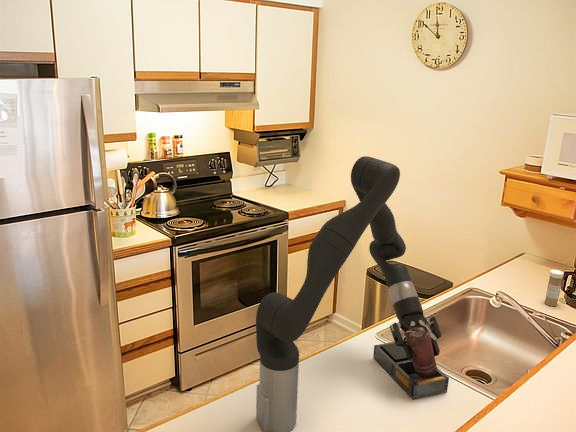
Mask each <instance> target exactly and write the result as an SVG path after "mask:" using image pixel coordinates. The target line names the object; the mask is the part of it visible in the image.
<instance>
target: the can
mask: <svg viewBox="0 0 576 432" xmlns="http://www.w3.org/2000/svg"><path fill="white" fill-rule="evenodd" d="M405 336H406V339H407V340H408V343H409V346H410V347H411V348H412V350H413V352H414V355H415V360H413V361H412V362H413V366H414V370H415V373H416V374H417V375H418V376H420V377H422V378H429V377H432V376H433V375H434V374H435V373H436V371H437V368H438V367H437V361H436V358H435V357H436V356H434V352H433V347H432V342H431V338H430V333H429V330H428V329H427V328H426V327H425V326H423V325H414V326H411V327H410V328H409V329H408V330H407V332H406V333H405Z"/></svg>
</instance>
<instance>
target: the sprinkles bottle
mask: <svg viewBox="0 0 576 432" xmlns="http://www.w3.org/2000/svg"><path fill="white" fill-rule="evenodd" d="M548 278H549V280H548V285H547V288H546V292H545V299H544V304H545V305H547V306H549V307H557V306H558V302H559V298H560V297H559V296H560V292H561V287H562V283H563V282H562V281H563V278H564V272H563V271H562V270H559V269H550V271H549V277H548Z"/></svg>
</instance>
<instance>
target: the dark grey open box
mask: <svg viewBox="0 0 576 432" xmlns="http://www.w3.org/2000/svg"><path fill="white" fill-rule="evenodd" d="M372 359H373V360H374V361H375V362H376V363H377V364H378V365H379V366H380V368H382V370H383V371H384V372H385V373H386V374H387V375H388V377H390V378H391V379H392V380H393V381H394V382H395V383H396V384H397V386H399V388H401V389H402V391H404V393H405V394H406V395H407V396H408V397H409V398H410V399H411V400H412V401H414V400H420V399H423V398H429V397H432V396H436V395H440V394H441V395H442V394H445V393H448V387H449V381H450V377H449V376H448V375H447V374H446V373H444V372H443V371H442V370H441V369H439V368H438V367H437V371H436V373H435V374H434V375H433V376H432V377H429V378H422V377H420V376H418V375H417V374H416V373H415V370H414V366H413V362H412V361H410V360H409V359H408V358H407V356H406V353H405V350H404V348H403V347H402V346H396V344H395V341H391V342H385V343H380V344H374V345H373V357H372Z"/></svg>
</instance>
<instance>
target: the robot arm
mask: <svg viewBox="0 0 576 432" xmlns="http://www.w3.org/2000/svg"><path fill="white" fill-rule="evenodd" d="M400 177H401V170H400V168H399V167H398V166H397V165H396V164H393V163H391V162H388V161H385V160H382V159H378V158H376V157H371V156H368V155H366V156H361V157H359V158H358V159H357V160H356V161H355V162H354V163H353V166H352V169H351V171H350V183H351V186H352V189H353V190H354V192H355V194H356V196H357V197H358V198H357V199H358V201H359V202H358V203H357V204H355V205H353V206H352V207H350V208H349V209H347V210H345V211H343V212H341V213H339V214H336V215H335V216H333V217H331V218H330V219H329V220H327V221H326V222H325V223H324V224H323V225H322V226H321V228H320V229H319V230H318V232H317V234H316V235H315V236H314V238H313V239H312V241H311V243H310V245H309V248H308V252H307V260H306V262H307V263H306V275H305V279H304V281H303V283H302V286H301V288H300V289H299V291H298V292H297V293H296V296H295V297H294V298H293V299H292V298H291V297H289V296H286V295H284V294H283V293H280V292H269V293H268V294H267V295H265V296H264V297H263V298H262V299H261V301H260V302H259V305H258V306H257V310H256V315H255V330H256V332H255V337H256V348H257V352H258V354H259V382H258V383H259V384H257V385H256V402H255V403H256V405H255V406H256V408H255V410H256V412H255V413H256V414H255V418H256V421H257V422H258V425H259V427H260V429H261V431H262V432H291V431H293V430H294V429H295V427H296V424H297V415H298V388H299V368H300V367H299V366H300V364H299V363H300V350H299V348H298V346H297V344H295V342H296V341H297V340H299V338H300V337H301V336H302V335H303V334H304V332H306V330H307V328H308V326H309V325H310V323H311V321H312V319H313V316H314V315H315V313H316V311H317V309H318V307H319V305H320V304H321V302H322V299H323V297H324V296H325V293H327V290H328V289H329V287H330V285H331V284H332V282H333V281H334V279H335V277H336V276H337V274H338V272H339V271H340V269H341V268H342V267H343V265H344V264H345V263H346V261H347V259H348V258H349V257H350V255H351V253H352V252H353V250H354V248H355V247H356V245H357V244H358V242H359V240H360V239H361V237H362V236H363V233H365V231H366V229H367V228H368V226H369V227H370V231H371V236H372V238H373V240H372V241H371V242H370V243H369V246H368V251H369V254H370V256H371V258H372V259H373V260H374V262H375V263H376V265H377V266H378V267H379V269H380V271H381V273H382V275H383V277H384V280H385V284H386V286H387V288H388V293H389V296H390V297H389V298H390V302H391V304H392V307H393V311H394V313H395V316H396V318H397V320H398V322H394V323H391V324H390V325H389V329H390V332H391V334H392V337H393V338H392V339H393V342H395V344H396V346H402V347H403V348H404V350H405V353H406V356H407V358H408V359H409V360H410V361H413V360H415V355H414V352H413V350H412V348H411V347H410V346H409V343H408V340H407V339H406V336H405V333H406V332H407V330H408V329H409V328H410V327H411V326H414V325H423V326H425V327H426V328H427V329H428V330H429V333H430V338H431V342H432V347H433V352H434V356H435V357H437V356H439V355H440V353H441V351H440V346H439V344H438V342H437V340H438V339H439V338H441V337H442V333H441V330H440V327H439V324H438V320H437V318H436V317H435V316H431V317H430V318H429V317H425V315H424V310H423V307H422V304H421V301H420V298H419V295H418V293H417V290H416V287H415V285H414V284H413V281H412V278H411V276H410V272H409V270H408V268H407V265H405V264H403V263H390V262H388V261H391V260H395V259H398V258H400V257H403V256H404V255H405V253H406V250H407V247H406V246H407V245H406V243H405V241H404V239H403V238H402V235H400V233H399V232H398V231H397V230H398V229H397V224H396V220H395V217H394V214H393V212H392V210H391V209H390V207H389V206H388V205H387V203H386V202H388V200H389V199H390V197H391V196H392V195H393V193H394V191H396V188H397V187H398V184H399V181H400ZM400 330H402V331H403V333H402V334H403V335H402V334H401V331H400Z"/></svg>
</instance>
